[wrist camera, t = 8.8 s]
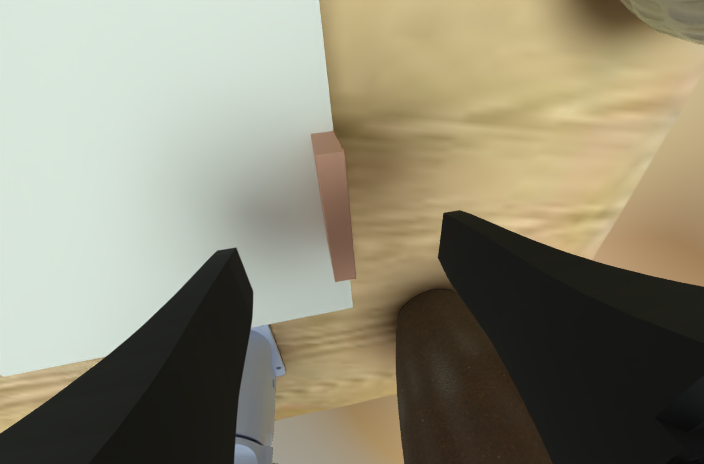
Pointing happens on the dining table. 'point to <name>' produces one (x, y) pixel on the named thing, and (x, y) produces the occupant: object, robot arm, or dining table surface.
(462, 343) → the plant pot
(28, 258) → the lid
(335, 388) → the dining table surface
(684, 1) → the vase
